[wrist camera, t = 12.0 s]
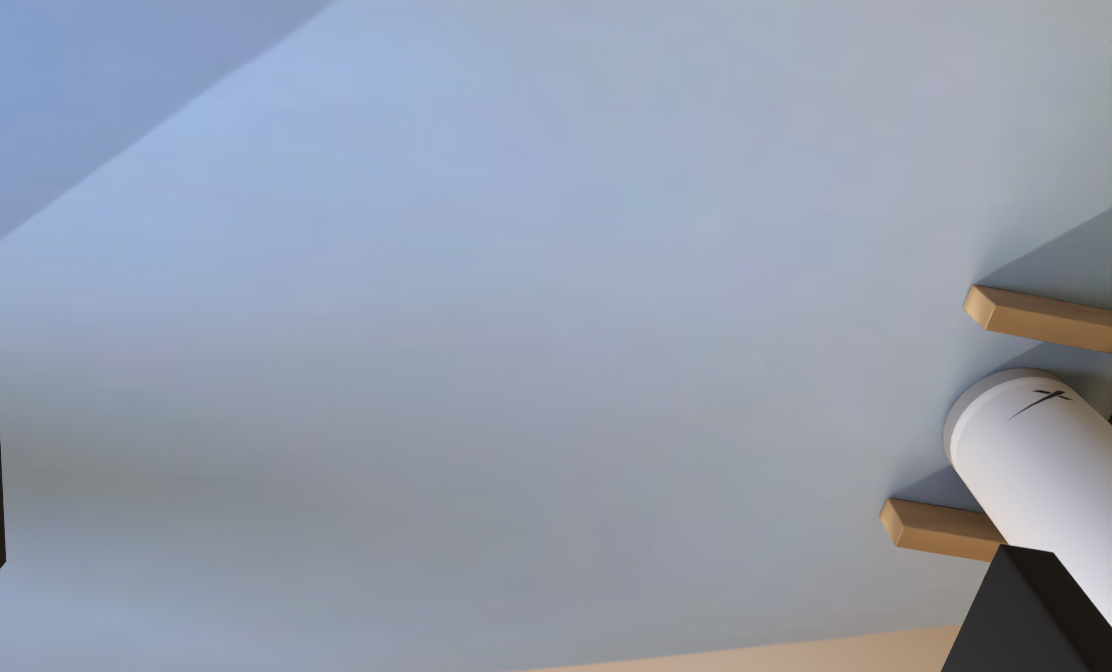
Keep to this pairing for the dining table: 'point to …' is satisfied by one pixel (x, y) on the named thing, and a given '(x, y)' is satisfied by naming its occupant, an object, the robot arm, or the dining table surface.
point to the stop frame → (1014, 317)
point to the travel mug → (1039, 470)
